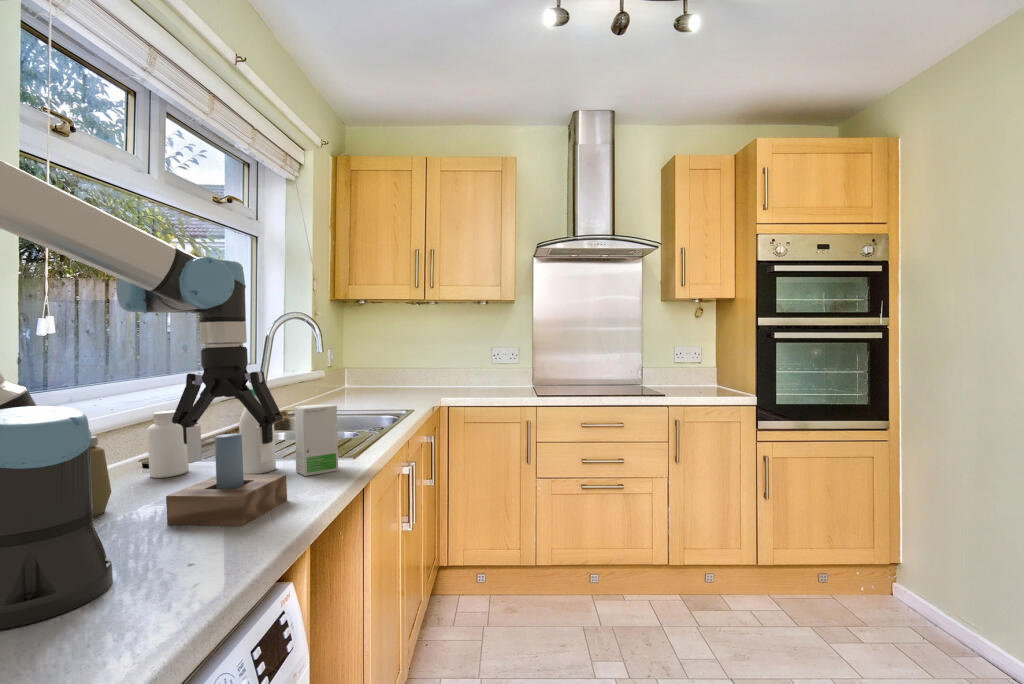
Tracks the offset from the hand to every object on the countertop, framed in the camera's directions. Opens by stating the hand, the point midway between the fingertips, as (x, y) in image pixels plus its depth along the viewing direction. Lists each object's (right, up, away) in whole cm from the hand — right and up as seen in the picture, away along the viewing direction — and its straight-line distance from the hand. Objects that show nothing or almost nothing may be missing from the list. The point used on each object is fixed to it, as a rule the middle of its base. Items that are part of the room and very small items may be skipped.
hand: (228, 461), depth 99 cm
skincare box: (+6, -9, +29) cm, 31 cm away
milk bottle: (-9, -9, +31) cm, 33 cm away
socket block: (0, -9, 0) cm, 9 cm away
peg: (0, -9, 0) cm, 9 cm away
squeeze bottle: (-27, -10, +1) cm, 29 cm away
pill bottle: (-30, -10, +30) cm, 44 cm away
